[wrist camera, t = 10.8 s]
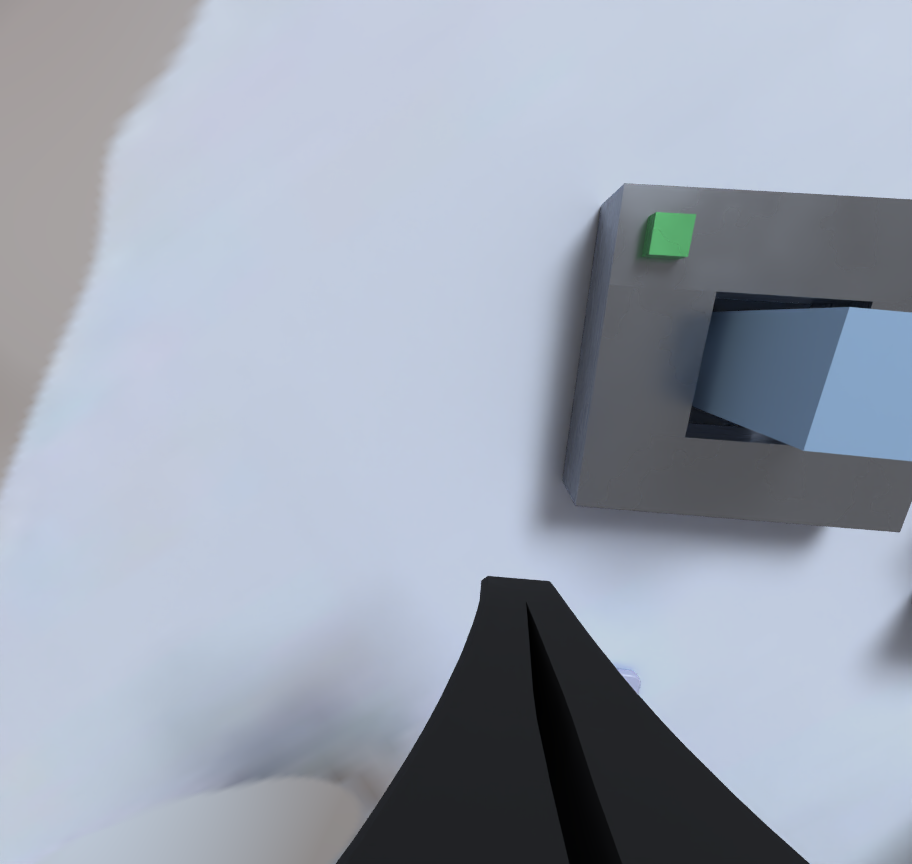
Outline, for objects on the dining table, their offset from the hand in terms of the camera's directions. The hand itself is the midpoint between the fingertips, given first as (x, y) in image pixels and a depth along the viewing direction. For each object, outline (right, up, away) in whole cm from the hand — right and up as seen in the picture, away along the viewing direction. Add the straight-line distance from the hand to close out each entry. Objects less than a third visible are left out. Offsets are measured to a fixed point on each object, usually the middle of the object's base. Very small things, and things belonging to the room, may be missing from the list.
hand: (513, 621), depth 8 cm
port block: (+10, +6, +9) cm, 15 cm away
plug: (+10, +7, +9) cm, 15 cm away
